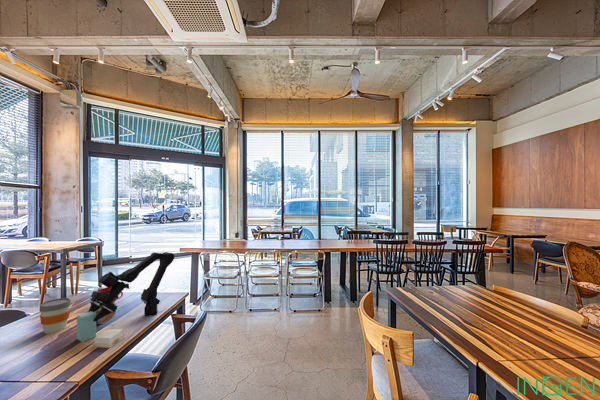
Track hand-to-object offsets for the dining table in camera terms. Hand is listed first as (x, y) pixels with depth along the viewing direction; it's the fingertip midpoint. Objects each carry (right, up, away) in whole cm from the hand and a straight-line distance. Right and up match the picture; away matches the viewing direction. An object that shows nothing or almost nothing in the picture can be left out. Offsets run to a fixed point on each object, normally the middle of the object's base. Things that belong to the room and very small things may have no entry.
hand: (89, 319), depth 133 cm
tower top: (+14, -7, -6) cm, 17 cm away
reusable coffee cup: (-25, -9, +7) cm, 28 cm away
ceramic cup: (-21, -10, +42) cm, 48 cm away
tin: (-6, -9, +18) cm, 21 cm away
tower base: (+14, -10, -6) cm, 18 cm away
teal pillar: (-1, -9, -1) cm, 9 cm away
